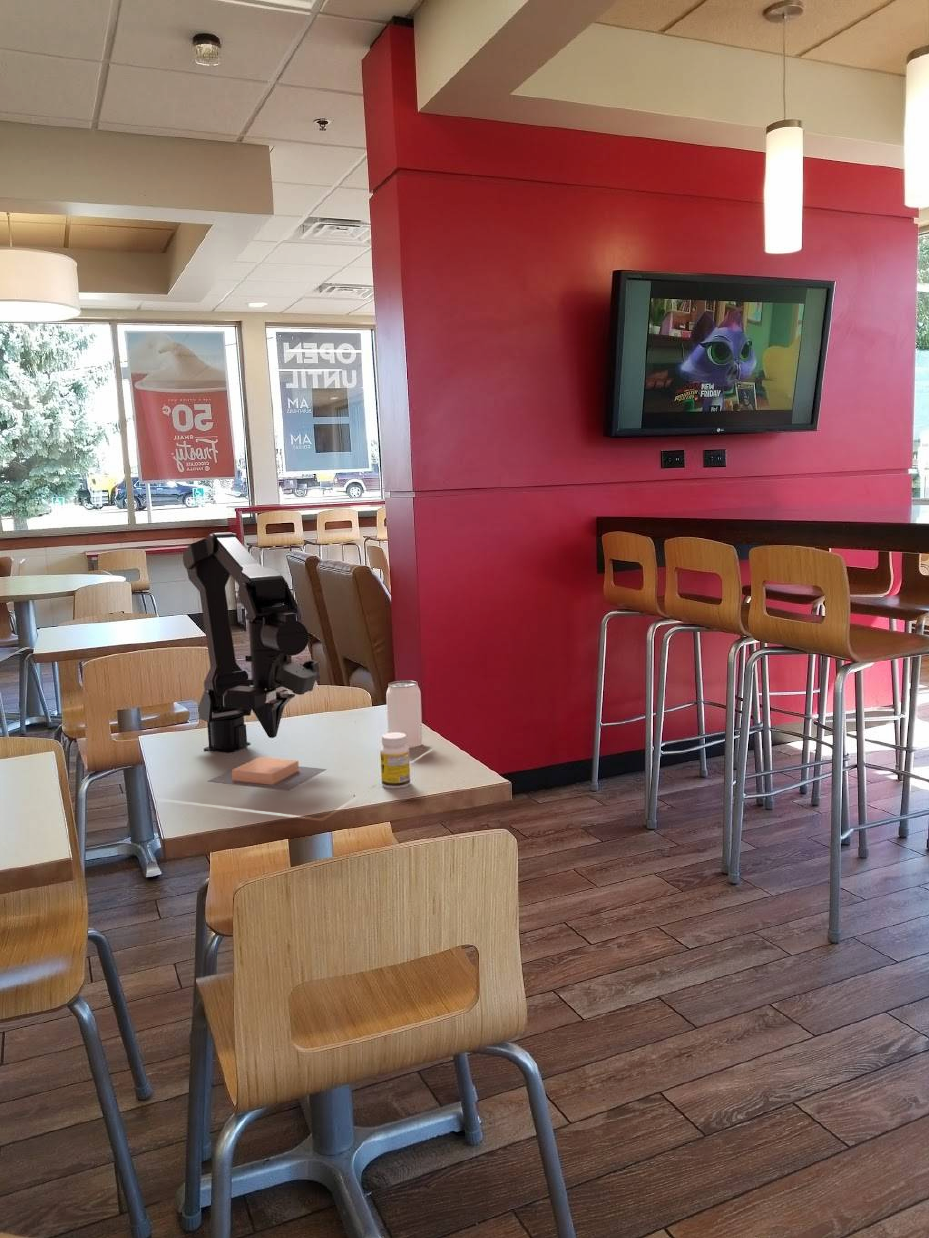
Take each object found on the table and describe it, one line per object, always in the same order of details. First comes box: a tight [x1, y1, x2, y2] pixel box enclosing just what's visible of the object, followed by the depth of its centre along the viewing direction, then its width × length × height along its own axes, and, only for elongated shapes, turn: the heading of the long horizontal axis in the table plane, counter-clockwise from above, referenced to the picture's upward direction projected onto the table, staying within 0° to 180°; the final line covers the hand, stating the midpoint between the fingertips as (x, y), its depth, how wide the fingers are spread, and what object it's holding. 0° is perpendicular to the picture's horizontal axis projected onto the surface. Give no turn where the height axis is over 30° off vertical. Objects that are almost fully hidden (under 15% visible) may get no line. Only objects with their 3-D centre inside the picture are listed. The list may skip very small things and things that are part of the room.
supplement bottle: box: [379, 732, 411, 790], centre depth 154 cm, size 5×5×8 cm
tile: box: [231, 756, 300, 785], centre depth 160 cm, size 8×2×8 cm
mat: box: [208, 760, 327, 791], centre depth 161 cm, size 16×12×1 cm
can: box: [385, 680, 423, 749], centre depth 177 cm, size 6×6×12 cm
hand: (272, 737), depth 162 cm, fingers closed
